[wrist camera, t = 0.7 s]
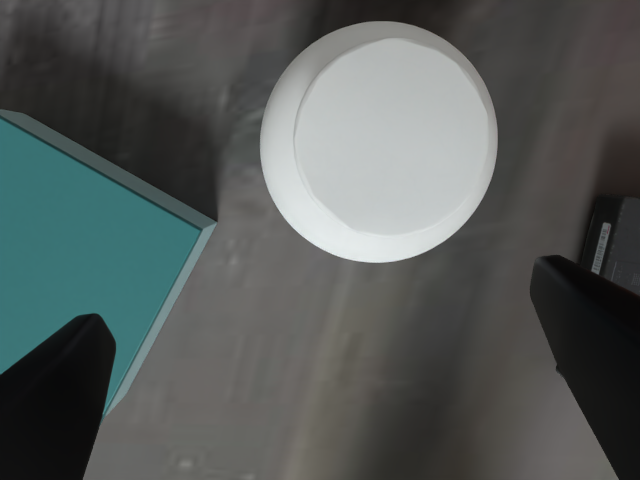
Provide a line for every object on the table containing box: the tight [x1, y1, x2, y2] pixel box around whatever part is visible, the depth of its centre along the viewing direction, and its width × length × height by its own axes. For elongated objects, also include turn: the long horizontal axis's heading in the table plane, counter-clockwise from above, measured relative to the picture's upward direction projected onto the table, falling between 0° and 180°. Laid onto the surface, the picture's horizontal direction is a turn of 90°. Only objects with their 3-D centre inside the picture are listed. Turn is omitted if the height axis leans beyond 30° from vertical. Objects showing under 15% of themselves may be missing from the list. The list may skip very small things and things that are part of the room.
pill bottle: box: [260, 21, 498, 263], centre depth 17 cm, size 8×7×14 cm
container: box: [0, 109, 217, 425], centre depth 23 cm, size 14×12×4 cm
